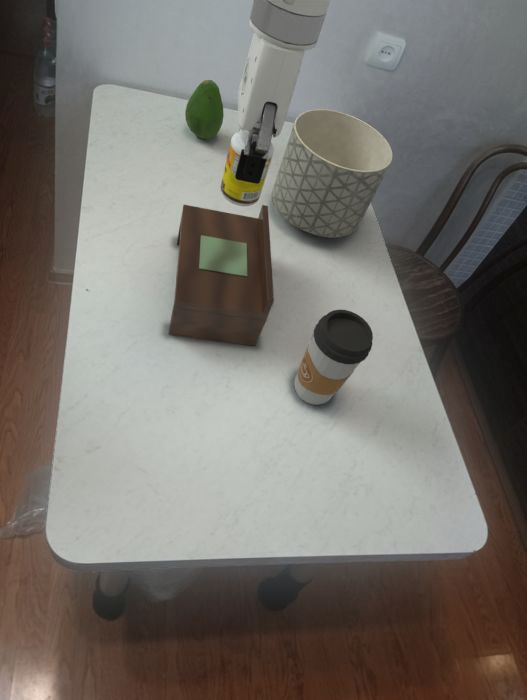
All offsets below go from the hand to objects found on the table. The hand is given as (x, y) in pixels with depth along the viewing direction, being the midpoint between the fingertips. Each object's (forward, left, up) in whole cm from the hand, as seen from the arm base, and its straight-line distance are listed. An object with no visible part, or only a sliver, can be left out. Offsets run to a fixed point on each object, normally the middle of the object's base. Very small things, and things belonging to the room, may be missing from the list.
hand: (247, 164), depth 70 cm
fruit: (-3, +48, -27) cm, 55 cm away
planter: (+21, +27, -27) cm, 44 cm away
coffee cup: (+17, -16, -27) cm, 35 cm away
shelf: (+1, +2, -27) cm, 27 cm away
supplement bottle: (0, 0, -5) cm, 5 cm away
